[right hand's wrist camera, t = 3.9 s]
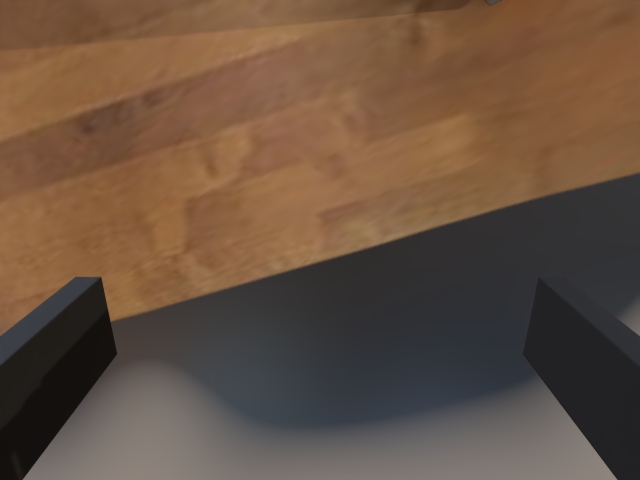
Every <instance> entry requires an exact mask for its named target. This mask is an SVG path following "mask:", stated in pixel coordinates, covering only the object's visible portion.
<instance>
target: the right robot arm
mask: <svg viewBox="0 0 640 480" xmlns="http://www.w3.org/2000/svg"><path fill="white" fill-rule="evenodd" d="M116 355H117V352H116V347H115V342H114V337H113V332H112V327H111V322H110V318H109V313H108V308H107V303H106V298H105V293H104V289H103V284H102V279H101V277H75V278H74V279H72V280H71V281H70V282H69V283H67V284H66V285H65V286H64V287H62V288H61V289H60V290H59V291H57V292H56V293H55V294H53V295H52V296H51V297H50V298H48V299H47V300H46V301H45V302H43V303H42V304H41V305H39V306H38V307H37V308H36V309H34V310H33V311H32V312H31V313H29V314H28V315H27V316H25V317H24V318H23V319H22V320H20V321H19V322H18V323H17V324H15V325H14V326H13V327H12V328H10V329H9V330H8V331H6V332H5V333H4V334H3V335H1V336H0V480H23V478H24V477H25V476H26V474H27V473H28V472H29V470H30V469H31V468H32V466H33V465H34V464H35V462H36V461H37V460H38V458H39V457H40V456H41V454H42V453H43V452H44V451H45V449H46V448H47V447H48V445H49V444H50V443H51V441H52V440H53V439H54V437H55V436H56V434H57V433H58V432H59V431H60V429H61V428H62V427H63V425H64V424H65V423H66V421H67V420H68V419H69V417H70V416H71V415H72V413H73V412H74V411H75V409H76V408H77V407H78V405H79V404H80V403H81V401H82V400H83V399H84V397H85V396H86V395H87V393H88V392H89V391H90V389H91V388H92V387H93V385H94V384H95V383H96V381H97V380H98V379H99V377H100V376H101V375H102V373H103V372H104V371H105V369H106V368H107V367H108V366H109V364H110V363H111V361H112V360H113V359H114V358H115V356H116ZM523 355H524V356H525V358H526V359H527V360H528V362H529V363H530V364H531V366H532V367H533V368H534V369H535V371H536V372H537V373H538V375H539V376H540V377H541V379H542V380H543V381H544V383H545V384H546V385H547V387H548V388H549V389H550V391H551V392H552V393H553V395H554V396H555V397H556V399H557V400H558V401H559V403H560V404H561V405H562V407H563V408H564V409H565V411H566V412H567V413H568V415H569V416H570V417H571V419H572V420H573V421H574V423H575V424H576V425H577V427H578V428H579V429H580V431H581V432H582V433H583V435H584V436H585V437H586V439H587V440H588V441H589V442H590V444H591V445H592V447H593V448H594V449H595V451H596V452H597V453H598V455H599V456H600V457H601V458H602V460H603V461H604V462H605V464H606V465H607V466H608V468H609V469H610V470H611V472H612V473H613V474H614V476H615V477H616V478H617V480H640V336H639V335H637V334H636V333H635V332H634V331H632V330H631V329H630V328H628V327H627V326H626V325H625V324H623V323H622V322H621V321H620V320H618V319H617V318H616V317H615V316H613V315H612V314H611V313H609V312H608V311H607V310H606V309H604V308H603V307H602V306H601V305H599V304H598V303H597V302H595V301H594V300H593V299H592V298H590V297H589V296H588V295H587V294H585V293H584V292H583V291H581V290H580V289H579V288H578V287H576V286H575V285H574V284H573V283H571V282H570V281H569V280H568V279H566V278H565V277H539V279H538V284H537V288H536V293H535V298H534V303H533V308H532V313H531V318H530V322H529V327H528V332H527V337H526V342H525V347H524V351H523Z"/></svg>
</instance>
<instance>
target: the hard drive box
mask: <svg viewBox="0 0 640 480" xmlns="http://www.w3.org/2000/svg"><path fill="white" fill-rule="evenodd" d="M485 1H486V2H487V4H488V5H492V4H495V3H497V2H499V1H502V0H485Z"/></svg>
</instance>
